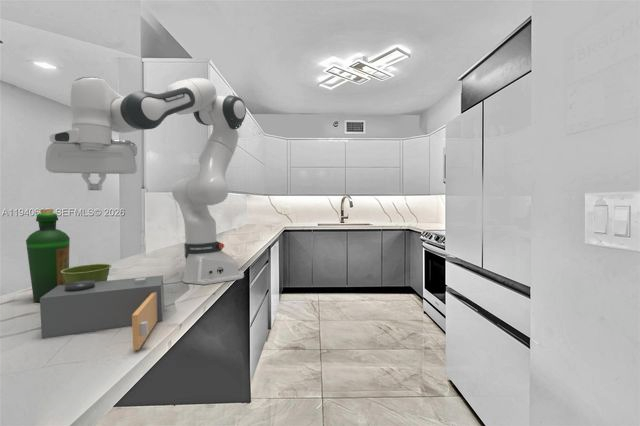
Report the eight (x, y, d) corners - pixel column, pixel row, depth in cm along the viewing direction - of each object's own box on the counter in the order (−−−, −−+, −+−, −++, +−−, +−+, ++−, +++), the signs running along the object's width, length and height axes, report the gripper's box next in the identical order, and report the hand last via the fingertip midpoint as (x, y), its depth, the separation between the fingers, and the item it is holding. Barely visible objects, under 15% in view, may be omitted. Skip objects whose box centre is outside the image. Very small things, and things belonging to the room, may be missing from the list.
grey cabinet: (164, 306, 93) (162, 271, 93) (162, 321, 82) (160, 280, 82) (60, 320, 84) (58, 280, 83) (41, 338, 73) (39, 292, 72)
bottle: (79, 296, 105) (74, 208, 104) (37, 306, 96) (32, 210, 95) (63, 292, 111) (59, 208, 109) (22, 300, 101) (17, 210, 100)
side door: (153, 320, 81) (152, 292, 81) (163, 319, 82) (162, 291, 82) (133, 350, 65) (131, 315, 65) (145, 348, 66) (144, 314, 65)
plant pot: (59, 307, 95) (57, 268, 94) (107, 298, 103) (105, 262, 102) (66, 317, 86) (64, 274, 86) (118, 306, 95) (116, 267, 94)
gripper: (138, 142, 96) (139, 190, 96) (50, 138, 88) (53, 190, 88) (135, 138, 90) (137, 189, 90) (41, 134, 82) (44, 190, 82)
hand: (95, 190), depth 89 cm, fingers closed
